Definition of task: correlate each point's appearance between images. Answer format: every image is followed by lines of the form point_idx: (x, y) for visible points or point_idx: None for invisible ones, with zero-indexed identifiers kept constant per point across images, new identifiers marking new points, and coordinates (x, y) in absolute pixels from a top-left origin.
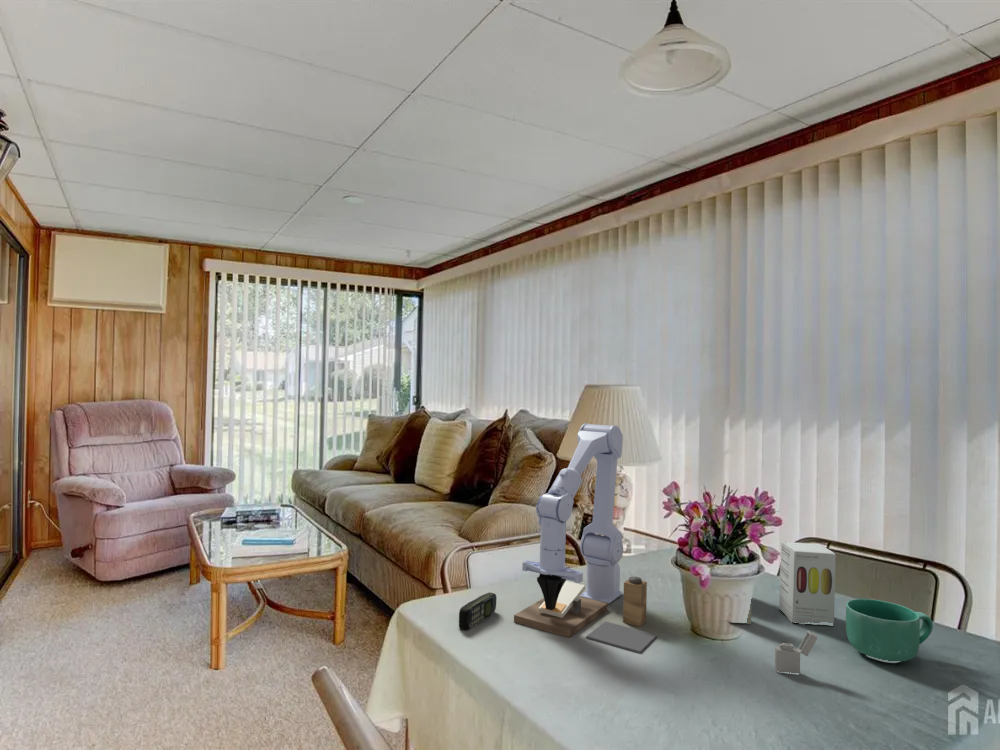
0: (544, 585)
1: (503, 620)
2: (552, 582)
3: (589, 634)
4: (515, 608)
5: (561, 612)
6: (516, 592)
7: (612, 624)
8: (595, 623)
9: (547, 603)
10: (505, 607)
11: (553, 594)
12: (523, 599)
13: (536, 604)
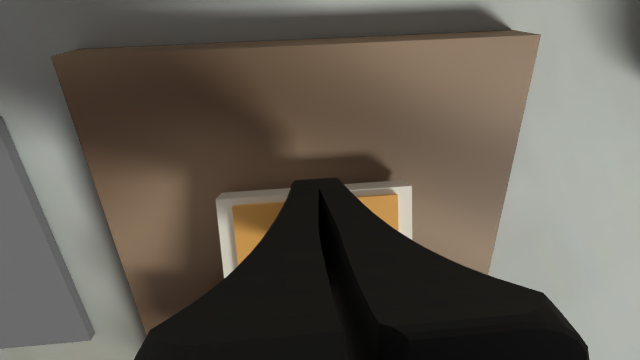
0: (385, 285)
1: (584, 3)
2: (190, 355)
3: (2, 156)
4: (570, 203)
5: (229, 214)
6: (622, 343)
7: (36, 333)
8: (127, 304)
9: (324, 192)
10: (627, 180)
11: (252, 252)
12: (567, 308)
13: (471, 267)
